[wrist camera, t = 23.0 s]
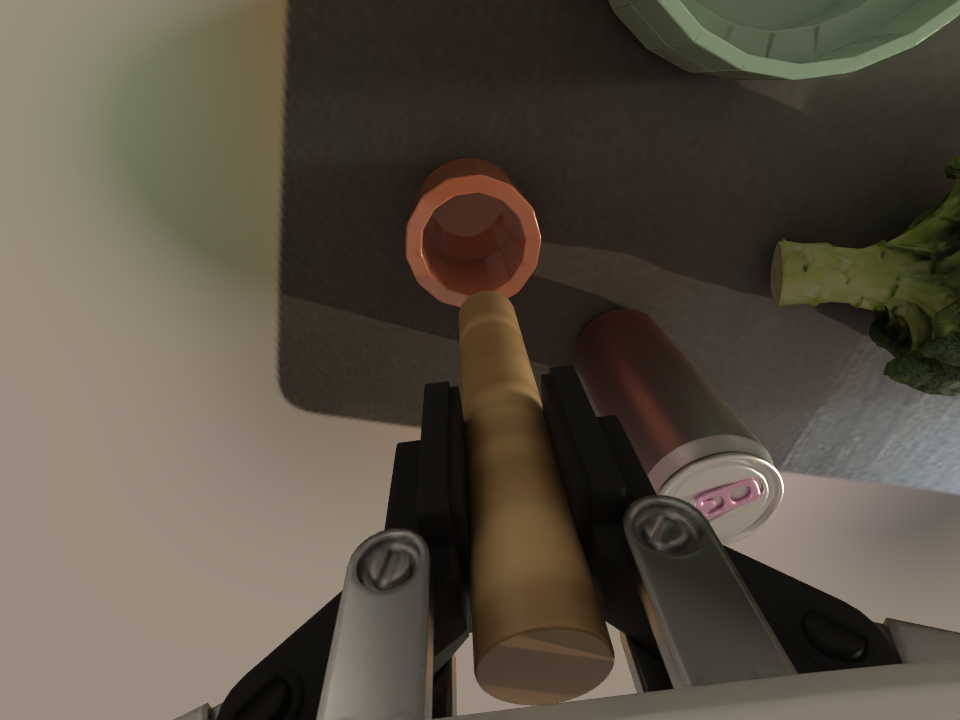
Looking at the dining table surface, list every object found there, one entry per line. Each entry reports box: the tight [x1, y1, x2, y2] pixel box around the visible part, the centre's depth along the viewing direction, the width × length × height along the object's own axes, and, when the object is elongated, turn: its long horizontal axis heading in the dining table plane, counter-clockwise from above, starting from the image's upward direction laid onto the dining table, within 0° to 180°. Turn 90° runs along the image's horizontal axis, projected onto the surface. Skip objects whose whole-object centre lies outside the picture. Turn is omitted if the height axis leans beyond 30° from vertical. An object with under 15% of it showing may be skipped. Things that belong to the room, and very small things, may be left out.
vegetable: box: [770, 156, 960, 396], centre depth 28 cm, size 12×13×15 cm
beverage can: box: [575, 309, 783, 546], centre depth 28 cm, size 6×6×15 cm
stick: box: [458, 291, 615, 705], centre depth 12 cm, size 2×2×12 cm
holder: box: [405, 158, 541, 308], centre depth 27 cm, size 7×7×6 cm
